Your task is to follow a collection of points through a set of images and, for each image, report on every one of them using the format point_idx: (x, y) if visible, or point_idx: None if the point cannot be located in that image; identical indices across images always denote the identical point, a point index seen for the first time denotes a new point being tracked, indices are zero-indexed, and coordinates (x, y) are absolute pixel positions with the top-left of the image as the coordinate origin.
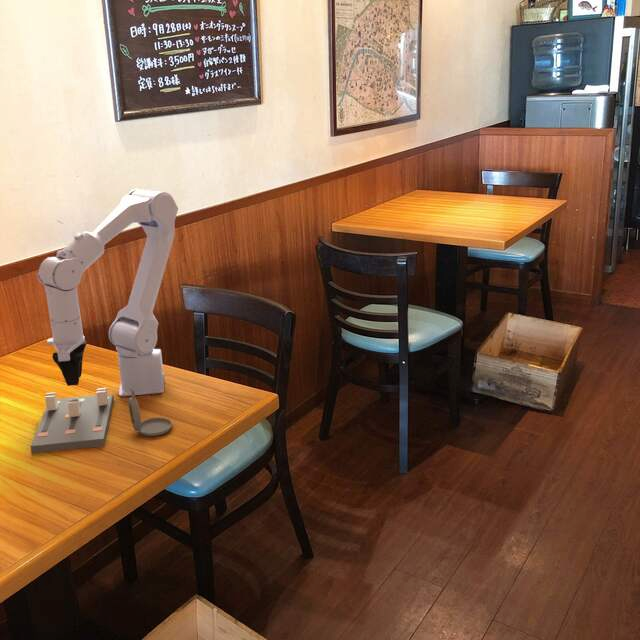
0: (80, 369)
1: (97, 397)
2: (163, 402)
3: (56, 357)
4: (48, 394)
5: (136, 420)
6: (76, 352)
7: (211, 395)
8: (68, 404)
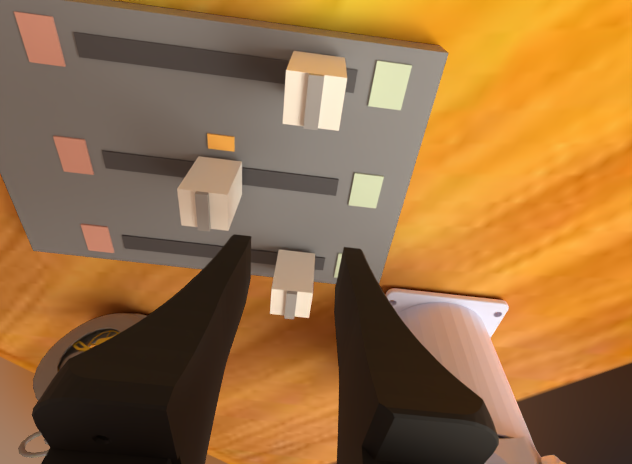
0: (335, 326)
1: (274, 274)
2: (304, 364)
3: (38, 415)
4: (308, 92)
5: (42, 361)
6: (346, 431)
7: (306, 429)
8: (179, 187)
